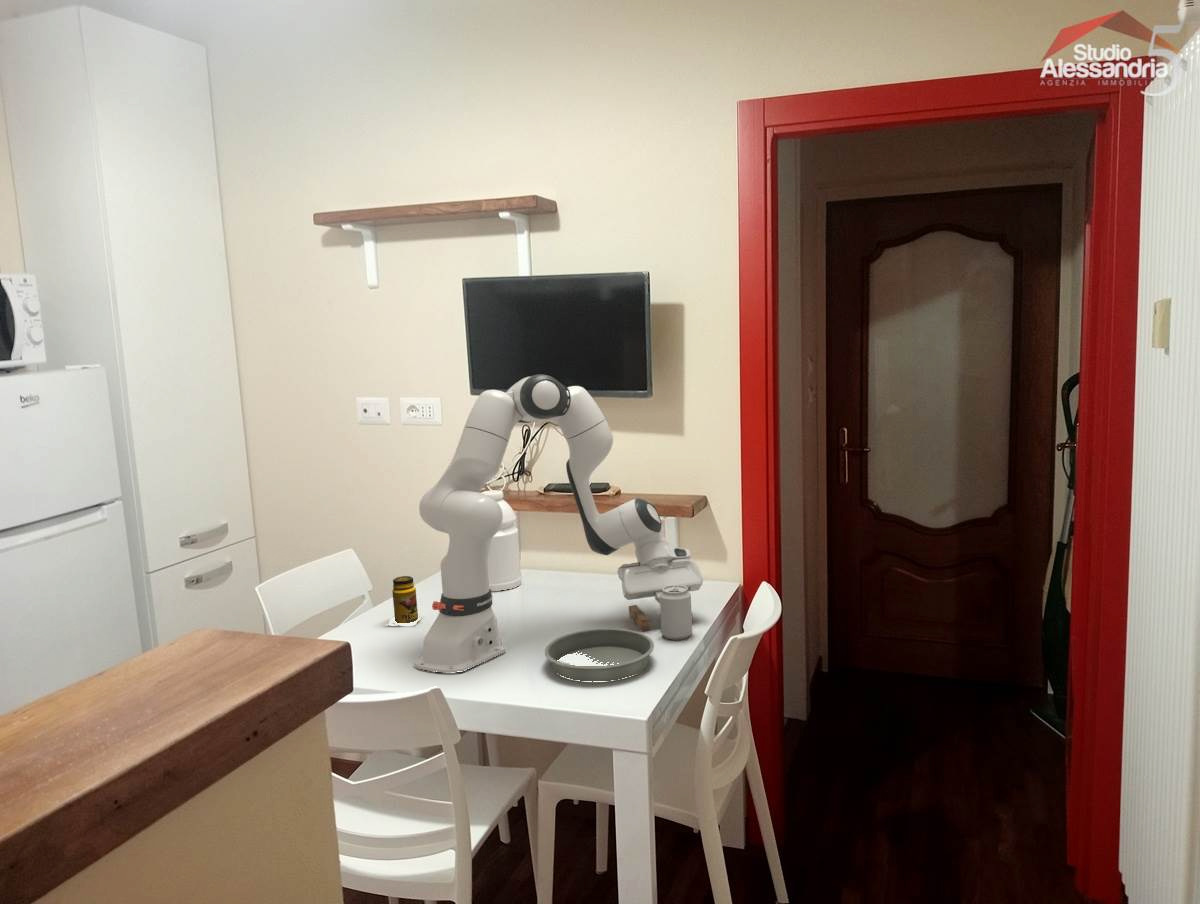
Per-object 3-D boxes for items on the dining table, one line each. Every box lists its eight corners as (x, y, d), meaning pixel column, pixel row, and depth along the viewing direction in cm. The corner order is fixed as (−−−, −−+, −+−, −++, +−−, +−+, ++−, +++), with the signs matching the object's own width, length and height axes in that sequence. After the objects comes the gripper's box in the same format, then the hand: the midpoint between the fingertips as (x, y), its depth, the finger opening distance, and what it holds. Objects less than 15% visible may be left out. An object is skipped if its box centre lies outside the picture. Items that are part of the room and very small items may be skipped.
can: (659, 640, 225) (656, 592, 223) (663, 630, 232) (661, 583, 230) (690, 641, 223) (688, 592, 221) (694, 630, 231) (692, 583, 229)
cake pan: (571, 642, 228) (570, 624, 228) (668, 650, 219) (668, 631, 219) (527, 681, 206) (525, 661, 205) (633, 692, 197) (632, 671, 196)
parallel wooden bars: (629, 617, 243) (628, 605, 243) (677, 610, 246) (676, 599, 246) (642, 631, 232) (642, 620, 231) (692, 624, 235) (692, 613, 234)
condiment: (415, 626, 246) (411, 581, 244) (383, 627, 247) (379, 582, 245) (423, 617, 253) (419, 573, 251) (392, 618, 254) (388, 574, 252)
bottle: (508, 575, 288) (502, 485, 284) (530, 585, 277) (524, 491, 272) (466, 585, 281) (459, 492, 276) (487, 595, 269) (480, 499, 265)
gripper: (617, 559, 234) (631, 608, 226) (695, 549, 239) (711, 597, 231) (613, 571, 239) (626, 620, 231) (690, 561, 244) (705, 609, 236)
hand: (669, 609), depth 231 cm, fingers closed, pressing on can
